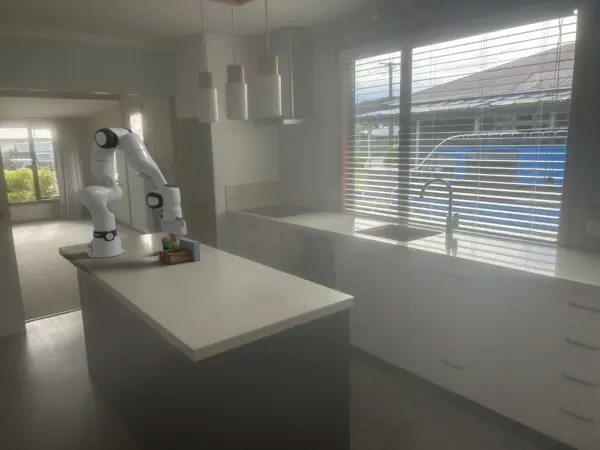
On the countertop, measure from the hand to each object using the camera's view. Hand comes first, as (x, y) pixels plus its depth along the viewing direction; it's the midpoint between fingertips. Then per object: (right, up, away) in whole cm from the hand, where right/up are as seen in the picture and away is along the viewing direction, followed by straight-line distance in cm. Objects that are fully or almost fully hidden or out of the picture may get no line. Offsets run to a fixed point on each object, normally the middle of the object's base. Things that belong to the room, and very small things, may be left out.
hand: (174, 242), depth 227 cm
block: (0, -10, +2) cm, 10 cm away
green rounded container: (-7, -7, +19) cm, 21 cm away
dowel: (0, -4, +1) cm, 4 cm away
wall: (+5, -9, +7) cm, 13 cm away
